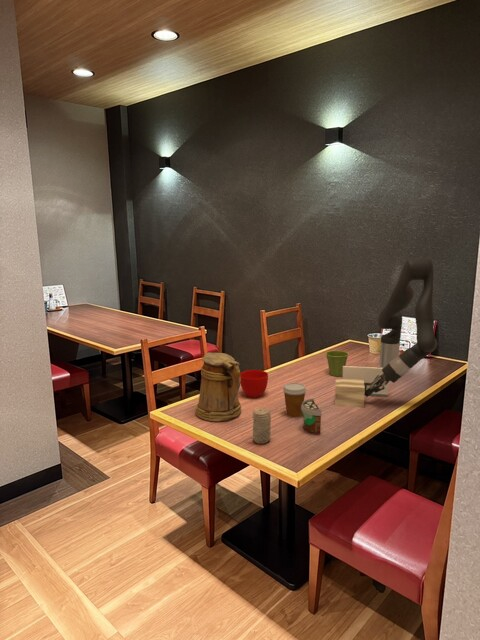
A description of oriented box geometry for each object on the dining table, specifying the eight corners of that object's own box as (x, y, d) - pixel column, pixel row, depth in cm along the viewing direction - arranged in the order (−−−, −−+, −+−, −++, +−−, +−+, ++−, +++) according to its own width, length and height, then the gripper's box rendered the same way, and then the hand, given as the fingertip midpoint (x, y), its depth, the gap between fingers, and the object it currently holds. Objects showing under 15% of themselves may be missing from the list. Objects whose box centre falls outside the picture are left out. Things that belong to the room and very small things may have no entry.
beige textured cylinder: (250, 444, 164) (249, 412, 162) (256, 435, 171) (256, 404, 168) (267, 446, 162) (266, 415, 159) (273, 437, 169) (273, 407, 166)
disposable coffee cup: (308, 410, 192) (308, 383, 190) (303, 420, 183) (303, 391, 181) (285, 408, 195) (285, 381, 193) (280, 417, 186) (280, 389, 184)
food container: (297, 422, 181) (298, 398, 179) (313, 421, 182) (313, 397, 179) (304, 436, 169) (305, 411, 167) (321, 435, 170) (321, 410, 167)
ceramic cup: (275, 389, 217) (275, 369, 215) (261, 401, 202) (261, 380, 200) (250, 385, 223) (250, 366, 221) (235, 397, 208) (234, 376, 206)
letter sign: (342, 389, 216) (342, 363, 213) (386, 392, 211) (388, 365, 208) (342, 394, 210) (342, 366, 207) (387, 397, 205) (389, 369, 203)
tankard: (219, 401, 204) (218, 347, 199) (258, 416, 188) (257, 357, 182) (187, 413, 192) (185, 355, 187) (225, 430, 175) (223, 368, 170)
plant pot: (347, 371, 242) (348, 350, 240) (348, 378, 230) (349, 357, 228) (324, 370, 244) (325, 349, 242) (324, 377, 233) (325, 356, 230)
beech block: (335, 397, 206) (335, 378, 205) (362, 399, 204) (363, 379, 202) (335, 405, 197) (335, 386, 195) (363, 407, 194) (364, 387, 192)
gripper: (388, 358, 199) (358, 383, 205) (391, 367, 187) (359, 394, 192) (400, 370, 199) (370, 395, 205) (404, 380, 187) (372, 407, 192)
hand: (365, 394), depth 198 cm, fingers closed
